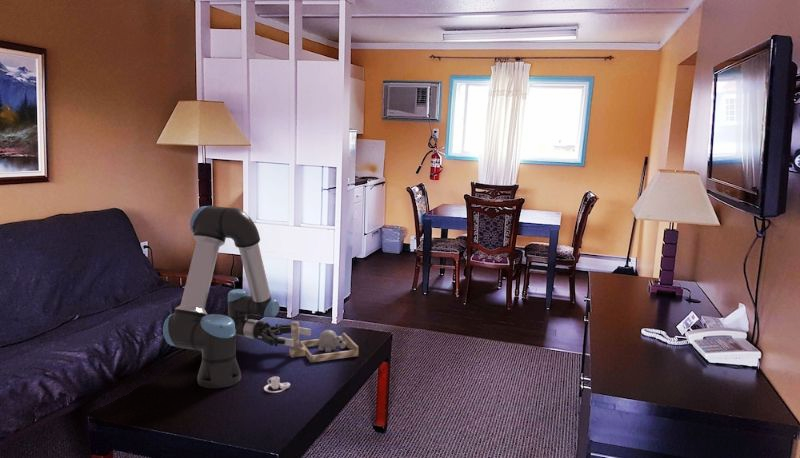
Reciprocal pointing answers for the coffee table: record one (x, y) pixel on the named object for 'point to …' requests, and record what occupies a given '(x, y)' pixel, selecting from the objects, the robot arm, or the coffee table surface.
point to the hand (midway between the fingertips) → (302, 337)
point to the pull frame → (303, 345)
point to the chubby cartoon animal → (330, 341)
